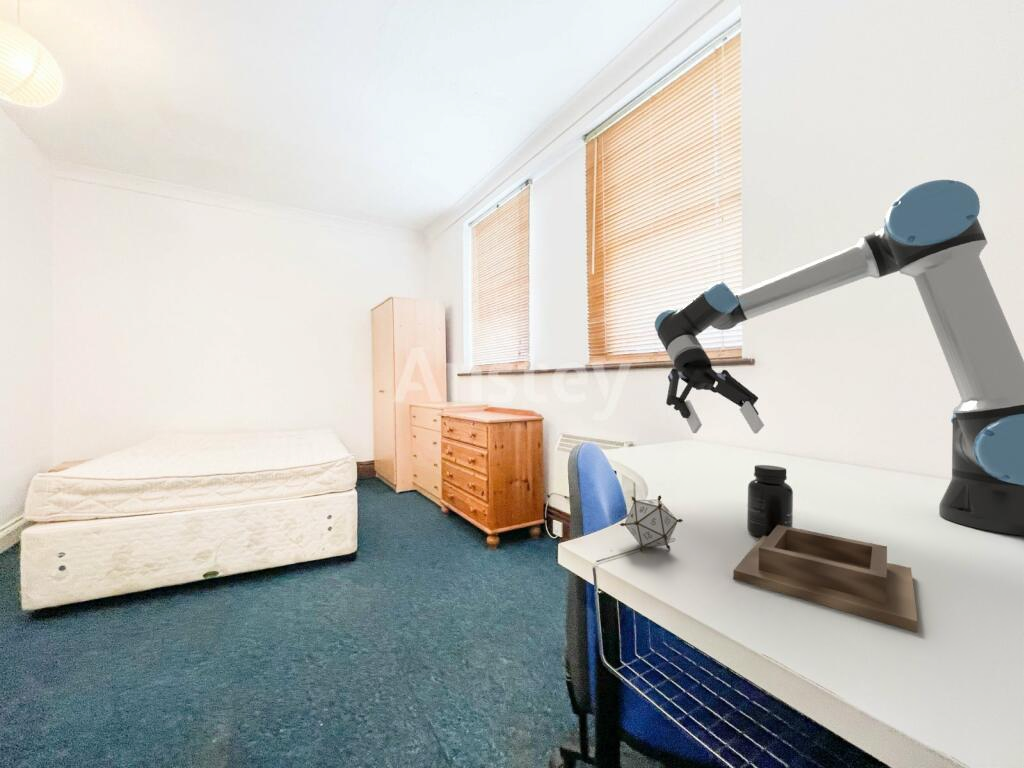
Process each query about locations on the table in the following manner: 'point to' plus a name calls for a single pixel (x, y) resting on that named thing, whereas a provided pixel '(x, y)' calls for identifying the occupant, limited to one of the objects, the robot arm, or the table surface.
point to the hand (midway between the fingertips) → (728, 429)
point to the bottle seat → (832, 574)
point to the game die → (650, 523)
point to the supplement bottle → (769, 501)
